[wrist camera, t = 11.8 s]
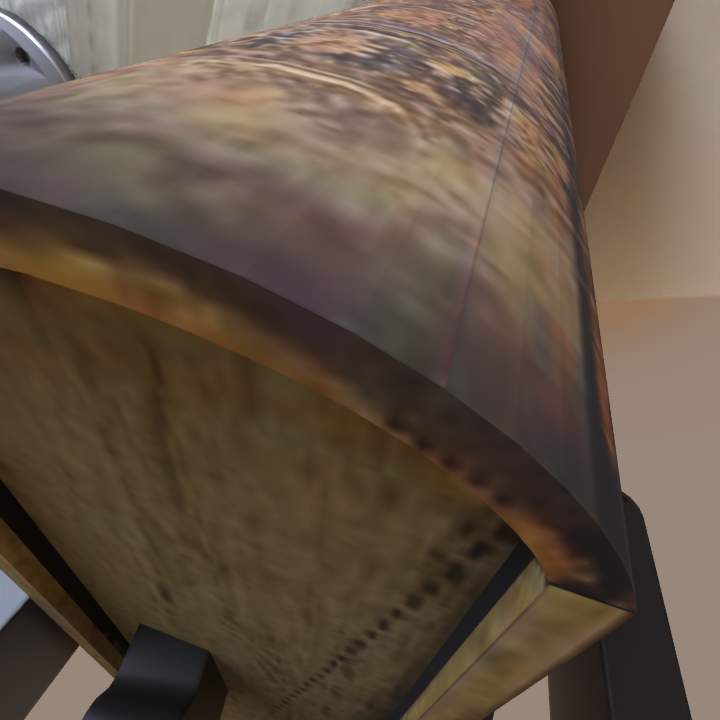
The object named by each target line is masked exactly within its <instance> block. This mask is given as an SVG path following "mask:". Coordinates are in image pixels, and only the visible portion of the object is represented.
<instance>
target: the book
mask: <svg viewBox="0 0 720 720" xmlns="http://www.w3.org/2000/svg"><path fill="white" fill-rule="evenodd" d="M607 389H608V388H607V381H606V374H605V367H604V359H603V351H602V344H601V337H600V329H599V322H598V315H597V308H596V300H595V292H594V285H593V277H592V270H591V263H590V255H589V248H588V240H587V233H586V226H585V218H584V211H583V203H582V196H581V188H580V181H579V174H578V166H577V159H576V151H575V144H574V137H573V129H572V122H571V114H570V107H569V100H568V92H567V85H566V77H565V70H564V63H563V55H562V48H561V40H560V33H559V25H558V19H557V15H556V11H555V9H554V7H553V5H552V3H551V2H550V0H382V1H378V2H374V3H370V4H366V5H362V6H358V7H355V8H351V9H347V10H343V11H339V12H335V13H331V14H327V15H324V16H320V17H316V18H312V19H308V20H304V21H300V22H296V23H293V24H289V25H285V26H281V27H277V28H273V29H269V30H266V31H262V32H258V33H254V34H250V35H246V36H242V37H238V38H235V39H231V40H227V41H223V42H219V43H215V44H211V45H207V46H204V47H200V48H196V49H192V50H188V51H184V52H180V53H177V54H173V55H169V56H165V57H161V58H157V59H153V60H149V61H146V62H142V63H138V64H134V65H130V66H126V67H122V68H118V69H115V70H111V71H107V72H103V73H99V74H95V75H91V76H88V77H84V78H80V79H76V80H72V81H68V82H64V83H60V84H57V85H53V86H49V87H45V88H41V89H37V90H33V91H29V92H26V93H22V94H18V95H14V96H10V97H6V98H2V99H0V569H1V570H2V571H3V572H4V573H5V574H6V575H7V576H8V577H9V578H10V579H11V580H12V581H13V582H14V583H15V584H16V585H17V586H18V587H20V588H21V589H22V590H23V591H24V592H25V593H26V594H27V595H28V596H29V597H30V598H31V599H32V600H33V601H34V602H35V603H36V604H37V605H38V606H39V607H40V608H41V609H42V610H44V611H45V612H46V613H47V614H48V615H49V616H50V617H51V618H52V619H53V620H54V621H55V622H56V623H57V624H58V625H59V626H60V627H61V628H62V629H63V630H64V631H65V632H67V633H68V634H69V635H70V636H71V637H72V638H73V639H74V640H75V641H76V642H77V643H78V644H79V645H80V646H81V647H82V648H83V649H84V650H85V651H86V652H87V653H88V654H90V655H91V656H92V657H93V658H94V659H95V660H96V661H97V662H98V663H99V664H100V665H101V666H102V667H103V668H104V669H105V670H106V671H107V672H108V673H109V674H110V675H112V676H113V677H114V678H115V677H116V675H117V673H118V671H119V669H120V667H121V664H122V662H123V660H124V658H125V655H126V653H127V651H128V649H129V646H130V644H131V642H132V639H133V637H134V635H135V633H136V630H137V628H138V626H139V624H140V623H141V624H144V625H146V626H148V627H151V628H153V629H156V630H158V631H161V632H163V633H166V634H168V635H171V636H173V637H176V638H178V639H181V640H183V641H186V642H188V643H191V644H193V645H195V646H198V647H200V648H203V649H205V650H208V651H210V653H211V655H212V657H213V659H214V661H215V663H216V665H217V667H218V670H219V672H220V674H221V676H222V678H223V680H224V682H225V684H226V687H227V689H228V693H227V697H226V700H225V704H224V707H223V711H222V714H221V718H220V720H482V719H484V718H485V717H487V716H488V715H490V714H491V713H493V712H494V711H495V710H497V709H498V708H500V707H501V706H503V705H504V704H506V703H507V702H509V701H510V700H512V699H513V698H515V697H516V696H518V695H519V694H521V693H522V692H524V691H525V690H526V689H528V688H529V687H531V686H532V685H534V684H535V683H537V682H538V681H540V680H541V679H543V678H544V677H546V676H547V675H549V674H550V673H551V672H553V671H554V670H556V669H557V668H559V667H560V666H562V665H563V664H565V663H566V662H568V661H569V660H571V659H572V658H574V657H575V656H577V655H578V654H579V653H581V652H582V651H584V650H585V649H587V648H588V647H590V646H591V645H593V644H594V643H596V642H597V641H599V640H600V639H602V638H603V637H605V636H606V635H607V634H609V633H610V632H612V631H613V630H615V629H616V628H618V627H619V626H621V625H622V624H624V623H625V622H627V621H628V620H630V619H631V618H633V617H634V616H635V615H636V613H637V606H636V596H635V589H634V581H633V574H632V566H631V559H630V551H629V544H628V537H627V529H626V522H625V514H624V507H623V500H622V492H621V485H620V477H619V470H618V463H617V455H616V448H615V442H614V441H615V440H614V433H613V426H612V419H611V411H610V404H609V396H608V390H607Z"/></svg>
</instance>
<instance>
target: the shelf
mask: <svg viewBox="0 0 720 720" xmlns="http://www.w3.org/2000/svg"><path fill="white" fill-rule="evenodd" d="M674 1H675V0H550V2H551V3H552V5H553V7H554V9H555V11H556V15H557V19H558V25H559V33H560V40H561V48H562V55H563V63H564V70H565V77H566V85H567V92H568V100H569V107H570V114H571V122H572V129H573V137H574V144H575V151H576V159H577V166H578V174H579V181H580V188H581V196H582V203H583V211H585V208H586V206H587V204H588V201H589V199H590V197H591V194H592V192H593V190H594V187H595V185H596V183H597V180H598V178H599V176H600V173H601V171H602V169H603V166H604V164H605V162H606V159H607V157H608V155H609V152H610V150H611V148H612V145H613V143H614V141H615V138H616V136H617V134H618V131H619V129H620V127H621V124H622V122H623V120H624V117H625V115H626V113H627V110H628V108H629V106H630V103H631V101H632V99H633V96H634V94H635V92H636V89H637V87H638V85H639V82H640V80H641V78H642V76H643V73H644V71H645V69H646V66H647V64H648V62H649V59H650V57H651V55H652V52H653V50H654V48H655V45H656V43H657V41H658V38H659V36H660V34H661V31H662V29H663V27H664V24H665V22H666V20H667V17H668V15H669V13H670V10H671V8H672V6H673V3H674Z"/></svg>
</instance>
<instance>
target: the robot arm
mask: <svg viewBox="0 0 720 720" xmlns="http://www.w3.org/2000/svg"><path fill="white" fill-rule="evenodd" d="M72 80H75V78H74V76H73V75H72V73H71V72H70V70H69V68H68V67H67V66H66V64H65V63H64V61H63V60H62V59H61V57H60V56H59V55H58V53H57V52H56V51H55V50H54V49H53V47H52V46H51V45H50V44H49V43H48V42H47V41H46V40H45V39H44V38H43V37H42V36H41V35H40V34H39V33H38V32H37V31H36V30H35V29H34V28H32V27H31V26H30V25H29V24H27V23H26V22H25V21H23V20H22V19H20V18H19V17H18V16H16V15H14V14H12V13H11V12H9V11H7V10H5V9H2V8H0V99H2V98H6V97H10V96H14V95H18V94H22V93H26V92H29V91H33V90H37V89H41V88H45V87H49V86H53V85H57V84H60V83H64V82H68V81H72ZM621 492H622V491H621ZM622 500H623V507H624V514H625V522H626V529H627V537H628V544H629V551H630V559H631V566H632V574H633V581H634V589H635V596H636V606H637V613H636V615H635V616H634V617H633V618H631V619H630V620H628V621H627V622H625V623H624V624H622V625H621V626H619V627H618V628H616V629H615V630H613V631H612V632H610V633H609V634H607V635H606V636H605V637H603V638H602V639H600V640H599V641H597V642H596V643H594V644H593V645H591V646H590V647H588V648H587V649H585V650H584V651H582V652H581V653H579V654H578V655H577V656H575V657H574V658H572V659H571V660H569V661H568V662H566V663H565V664H563V665H562V666H560V667H559V668H557V669H556V670H554V671H553V672H551V673H550V674H549V675H548V685H549V686H548V687H549V705H550V720H692V718H691V714H690V709H689V705H688V701H687V697H686V693H685V688H684V684H683V680H682V676H681V672H680V668H679V664H678V659H677V655H676V651H675V647H674V643H673V638H672V634H671V630H670V626H669V622H668V617H667V613H666V609H665V605H664V601H663V597H662V592H661V588H660V585H659V580H658V576H657V571H656V568H655V563H654V559H653V555H652V551H651V547H650V542H649V538H648V534H647V530H646V525H645V521H644V518H643V515H642V513H641V511H640V509H639V507H638V506H637V505H636V503H635V502H634V501H633V500H632V499H631V498H630V497H629V496H628V495H626V494H625V493H623V492H622ZM78 647H79V644H78V643H77V642H76V641H75V640H74V639H73V638H72V637H71V636H70V635H69V634H68V633H67V632H65V631H64V630H63V629H62V628H61V627H60V626H59V625H58V624H57V623H56V622H55V621H54V620H53V619H52V618H51V617H50V616H49V615H48V614H47V613H46V612H45V611H44V610H42V609H41V608H40V607H39V606H38V605H37V604H36V603H35V602H34V601H33V600H32V599H31V598H30V597H29V596H28V595H27V594H26V593H25V592H24V591H23V590H22V589H21V588H20V587H18V586H17V585H16V584H15V583H14V582H13V581H12V580H11V579H10V578H9V577H8V576H7V575H6V574H5V573H4V572H3V571H2V570H1V569H0V720H24V719H25V717H26V716H27V715H28V713H29V712H30V711H31V709H32V708H33V707H34V705H35V704H36V703H37V701H38V700H39V699H40V697H41V696H42V695H43V693H44V692H45V691H46V689H47V688H48V687H49V685H50V684H51V683H52V681H53V680H54V679H55V677H56V676H57V675H58V673H59V672H60V670H61V669H62V668H63V667H64V665H65V664H66V662H67V661H68V660H69V659H70V657H71V656H72V655H73V653H74V652H75V651H76V649H77V648H78ZM227 693H228V689H227V687H226V684H225V682H224V680H223V678H222V676H221V674H220V672H219V670H218V667H217V665H216V663H215V661H214V659H213V657H212V655H211V653H210V651H208V650H205V649H203V648H200V647H198V646H195V645H193V644H191V643H188V642H186V641H183V640H181V639H178V638H176V637H173V636H171V635H168V634H166V633H163V632H161V631H158V630H156V629H153V628H151V627H148V626H146V625H144V624H141V623H140V624H139V626H138V628H137V630H136V633H135V635H134V637H133V639H132V642H131V644H130V646H129V649H128V651H127V653H126V655H125V658H124V660H123V662H122V664H121V667H120V669H119V671H118V673H117V675H116V677H115V679H114V681H113V682H112V684H111V685H110V687H109V688H108V689H107V690H106V691H104V692H103V693H102V694H101V695H100V696H99V697H97V698H96V699H95V701H94V702H93V704H92V705H91V706H90V708H89V709H88V710H87V712H86V714H85V716H84V718H83V719H82V720H220V718H221V714H222V711H223V707H224V704H225V700H226V697H227ZM493 715H494V712H493V713H491V714H490V715H488V716H487V717H485V718H484V719H482V720H492V719H493Z"/></svg>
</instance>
